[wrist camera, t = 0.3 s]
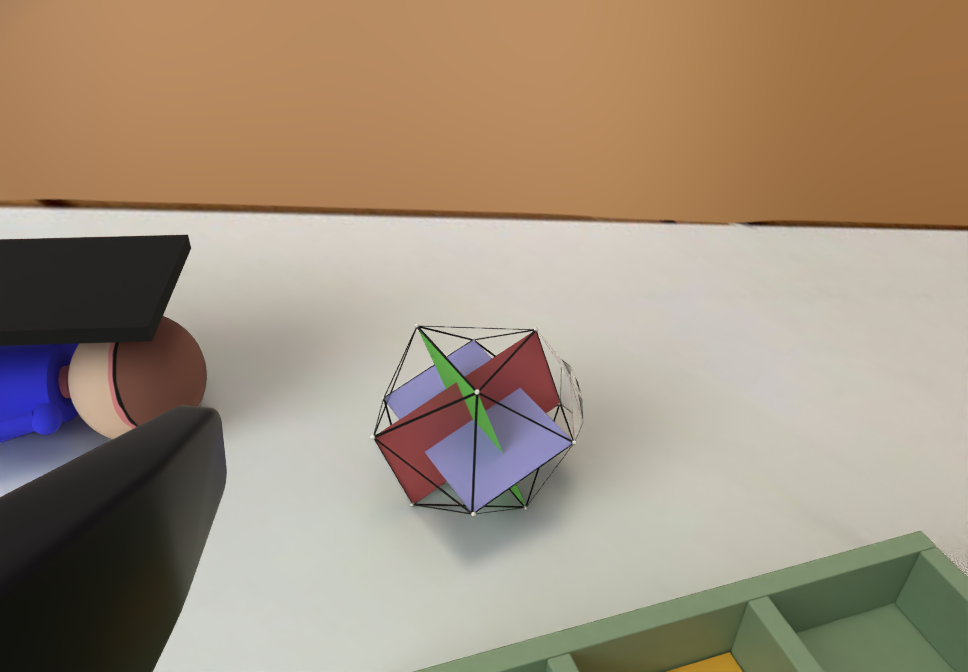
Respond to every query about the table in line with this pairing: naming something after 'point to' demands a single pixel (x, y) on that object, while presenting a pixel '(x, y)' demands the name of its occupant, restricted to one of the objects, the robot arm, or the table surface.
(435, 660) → the table surface
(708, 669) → the grid
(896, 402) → the table surface
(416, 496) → the geometric puzzle
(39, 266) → the figurine character
